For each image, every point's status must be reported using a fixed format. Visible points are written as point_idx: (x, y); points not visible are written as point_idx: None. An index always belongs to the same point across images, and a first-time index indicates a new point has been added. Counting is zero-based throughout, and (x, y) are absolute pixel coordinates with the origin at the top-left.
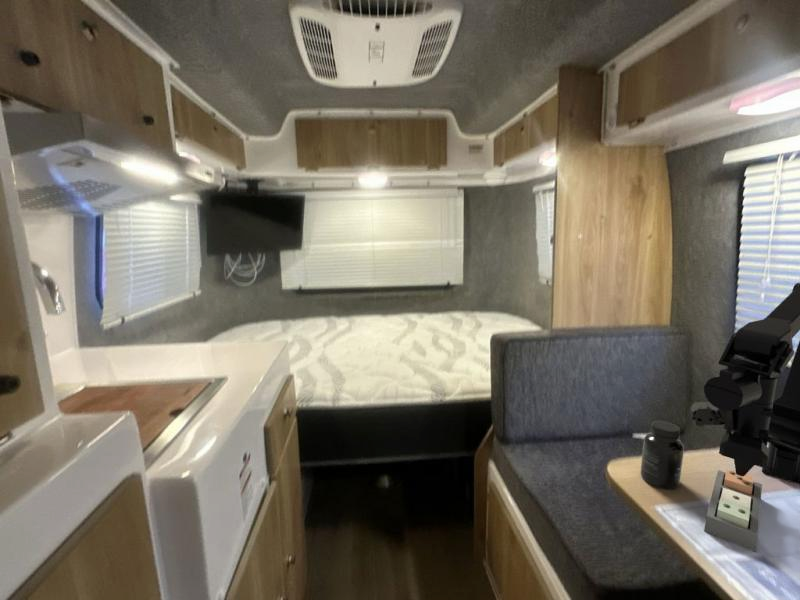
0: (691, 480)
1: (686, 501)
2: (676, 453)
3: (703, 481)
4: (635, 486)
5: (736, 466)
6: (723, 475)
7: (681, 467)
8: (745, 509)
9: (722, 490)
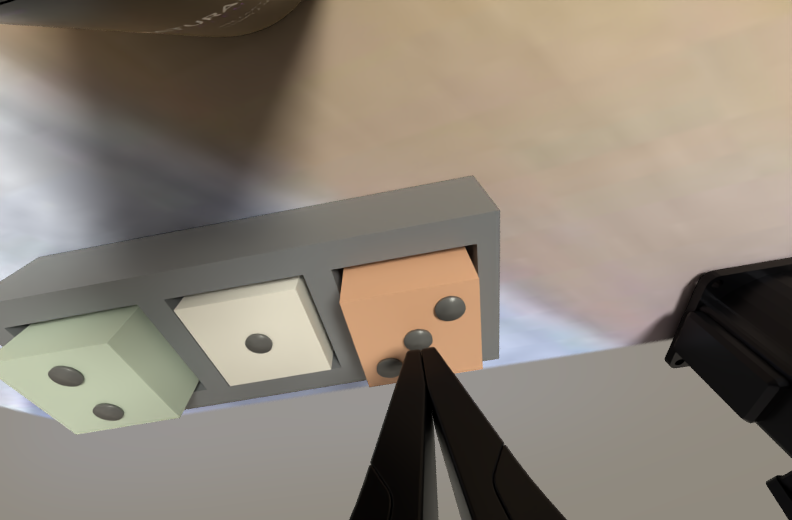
0: (404, 66)
1: (156, 129)
2: None
3: (448, 122)
4: None
5: (389, 411)
6: (454, 246)
7: (174, 30)
8: (147, 412)
9: (262, 295)
